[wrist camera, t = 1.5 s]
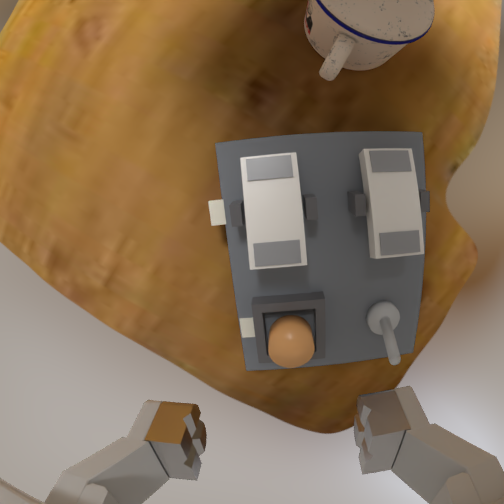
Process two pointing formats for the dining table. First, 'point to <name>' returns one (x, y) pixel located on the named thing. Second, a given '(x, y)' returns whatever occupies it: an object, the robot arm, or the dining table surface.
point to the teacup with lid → (363, 31)
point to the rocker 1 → (273, 211)
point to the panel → (325, 253)
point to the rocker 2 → (391, 202)
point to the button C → (290, 341)
